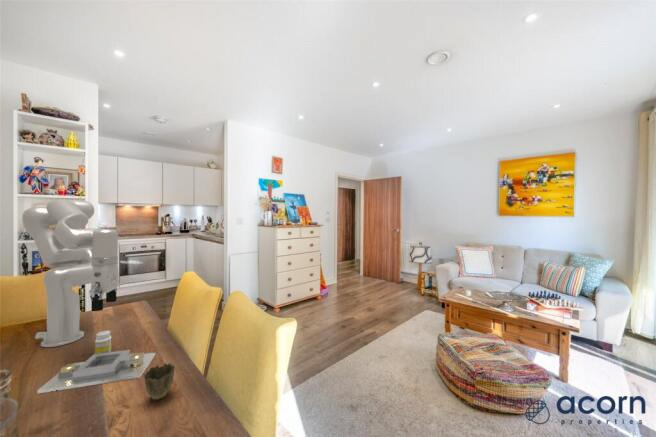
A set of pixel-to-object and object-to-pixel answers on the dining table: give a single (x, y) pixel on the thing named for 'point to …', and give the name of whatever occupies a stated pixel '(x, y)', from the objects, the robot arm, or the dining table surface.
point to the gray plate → (99, 370)
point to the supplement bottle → (103, 342)
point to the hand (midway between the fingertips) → (104, 306)
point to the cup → (159, 380)
